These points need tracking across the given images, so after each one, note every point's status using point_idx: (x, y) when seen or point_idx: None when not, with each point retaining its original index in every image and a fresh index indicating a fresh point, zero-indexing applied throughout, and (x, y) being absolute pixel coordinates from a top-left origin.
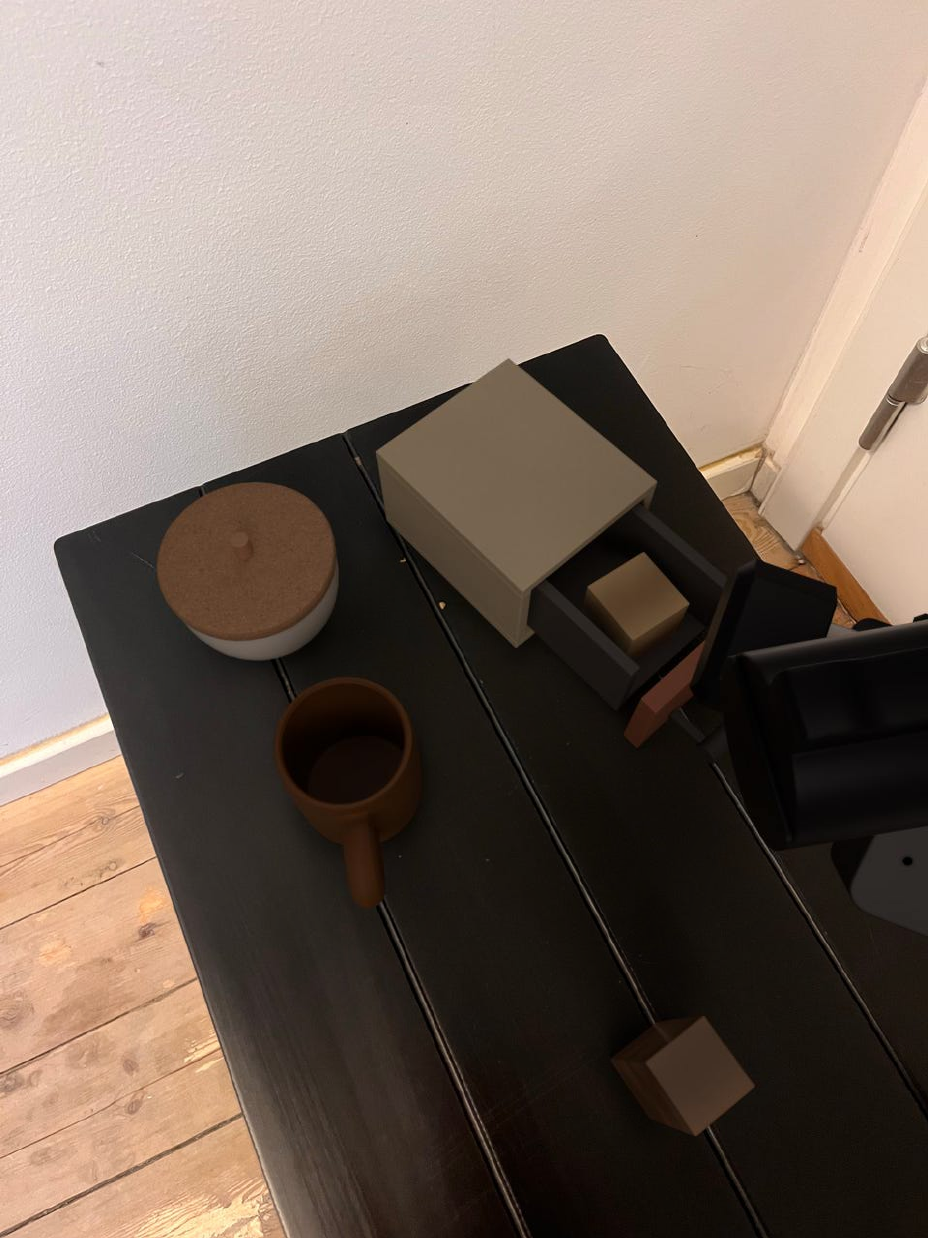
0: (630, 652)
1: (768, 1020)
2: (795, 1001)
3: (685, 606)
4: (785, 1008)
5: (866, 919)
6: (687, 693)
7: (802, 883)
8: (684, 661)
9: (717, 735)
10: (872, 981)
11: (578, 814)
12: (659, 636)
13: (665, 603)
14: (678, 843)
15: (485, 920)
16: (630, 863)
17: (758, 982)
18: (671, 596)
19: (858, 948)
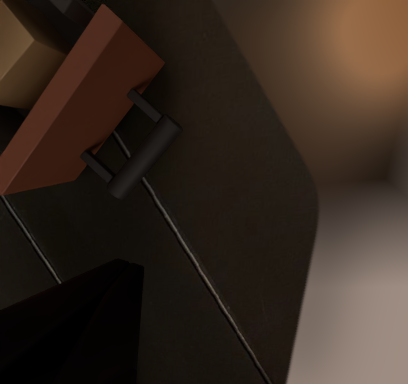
0: (16, 104)
1: (184, 360)
2: (203, 350)
3: (29, 44)
4: (196, 353)
5: (261, 298)
6: (78, 142)
7: (213, 273)
8: (20, 129)
9: (119, 176)
10: (260, 338)
11: (49, 230)
12: (49, 77)
13: (7, 44)
14: (121, 248)
15: (3, 302)
16: (88, 263)
17: (178, 338)
18: (12, 32)
19: (252, 317)
